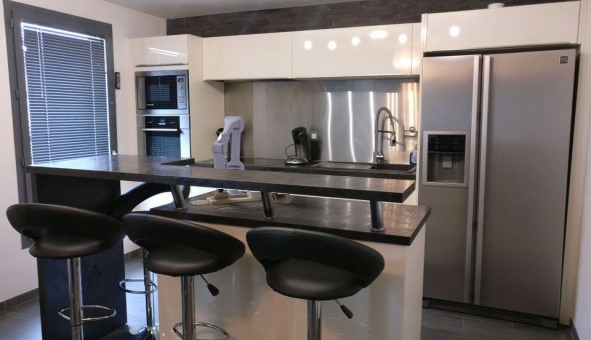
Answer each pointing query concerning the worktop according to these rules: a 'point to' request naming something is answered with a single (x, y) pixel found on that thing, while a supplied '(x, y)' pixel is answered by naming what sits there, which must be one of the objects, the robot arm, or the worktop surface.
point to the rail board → (232, 199)
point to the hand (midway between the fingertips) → (220, 191)
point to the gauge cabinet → (253, 194)
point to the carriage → (220, 195)
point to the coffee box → (281, 195)
